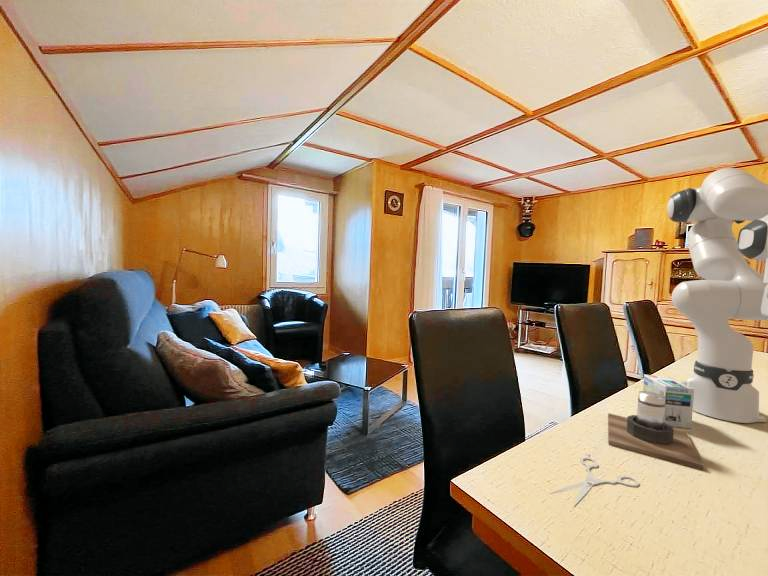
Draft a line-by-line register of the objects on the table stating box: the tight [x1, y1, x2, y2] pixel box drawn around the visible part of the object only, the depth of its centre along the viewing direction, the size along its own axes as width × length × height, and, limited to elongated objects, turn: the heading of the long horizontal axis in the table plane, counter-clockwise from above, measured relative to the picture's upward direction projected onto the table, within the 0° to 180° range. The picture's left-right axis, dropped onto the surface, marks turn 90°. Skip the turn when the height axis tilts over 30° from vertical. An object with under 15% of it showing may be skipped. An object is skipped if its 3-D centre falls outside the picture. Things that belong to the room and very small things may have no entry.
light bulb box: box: [642, 374, 694, 429], centre depth 91 cm, size 11×7×11 cm, turn 168°
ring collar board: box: [607, 412, 704, 471], centre depth 79 cm, size 18×16×4 cm
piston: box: [636, 390, 666, 430], centre depth 78 cm, size 5×5×10 cm
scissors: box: [549, 452, 640, 507], centre depth 62 cm, size 11×1×20 cm
